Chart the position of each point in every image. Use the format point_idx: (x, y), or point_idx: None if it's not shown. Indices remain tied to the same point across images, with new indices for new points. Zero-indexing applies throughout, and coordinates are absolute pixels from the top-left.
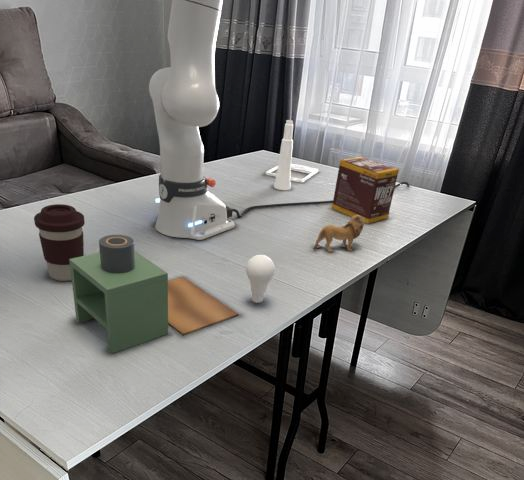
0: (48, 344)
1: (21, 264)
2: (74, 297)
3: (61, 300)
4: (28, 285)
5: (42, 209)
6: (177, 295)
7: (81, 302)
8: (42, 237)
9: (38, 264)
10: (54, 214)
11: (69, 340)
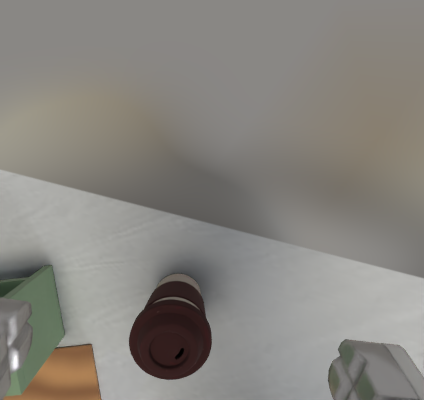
0: (10, 219)
1: (235, 251)
2: (32, 278)
3: (109, 265)
4: (168, 241)
5: (178, 328)
6: (57, 392)
7: (11, 281)
8: (165, 296)
9: (225, 271)
10: (146, 338)
11: (9, 242)
